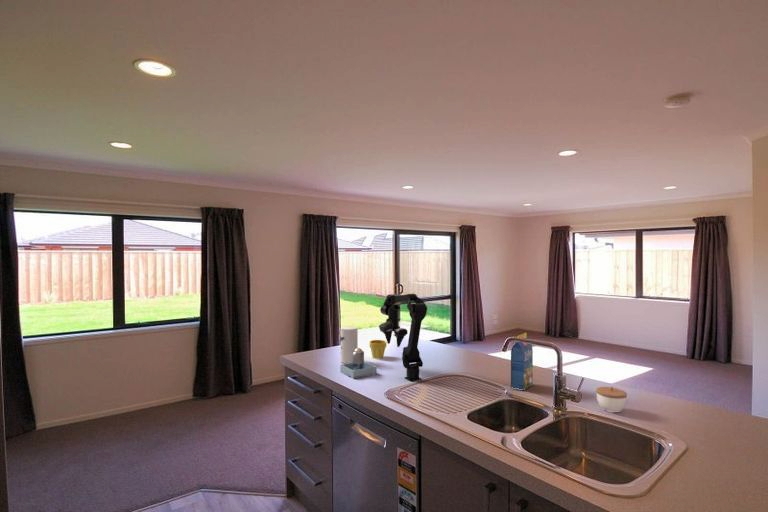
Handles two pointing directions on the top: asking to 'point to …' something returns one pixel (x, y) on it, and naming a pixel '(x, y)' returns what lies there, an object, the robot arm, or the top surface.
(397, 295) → the robot arm
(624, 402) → the lidded jar
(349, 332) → the container
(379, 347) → the plant pot
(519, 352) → the blue food package
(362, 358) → the metallic can
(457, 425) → the top surface
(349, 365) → the bin
